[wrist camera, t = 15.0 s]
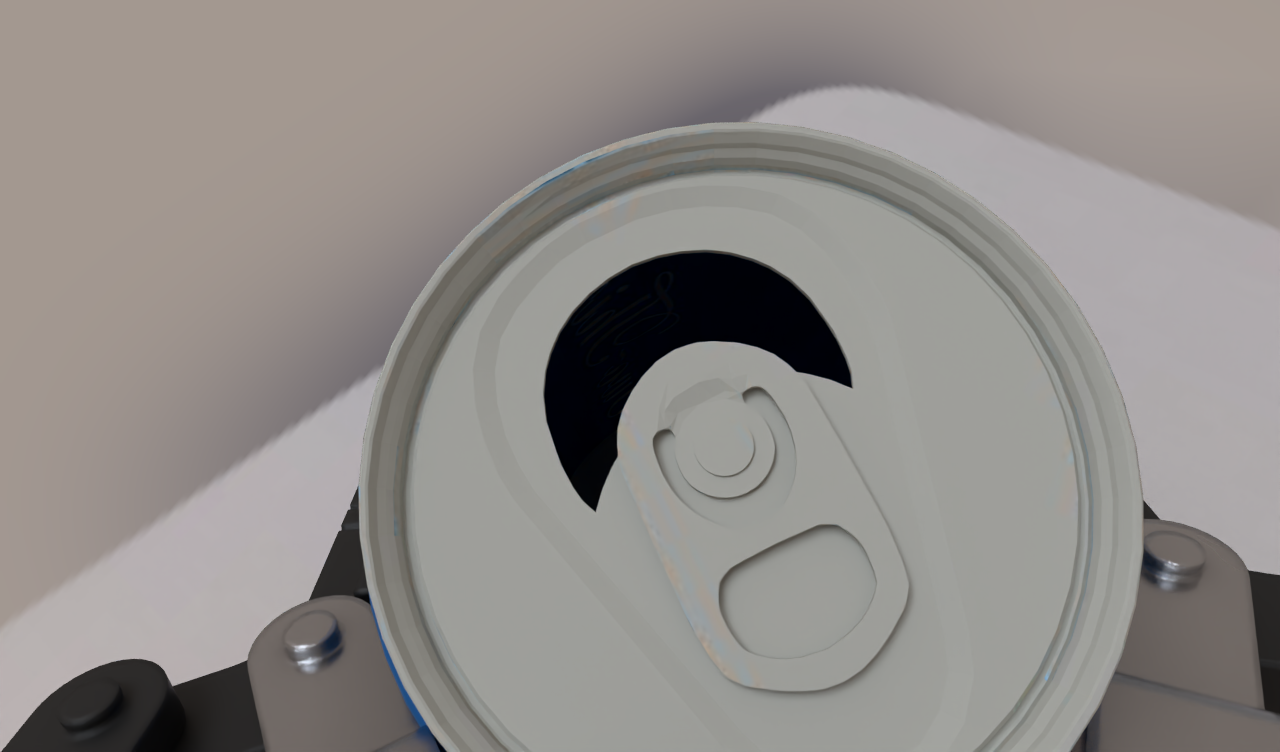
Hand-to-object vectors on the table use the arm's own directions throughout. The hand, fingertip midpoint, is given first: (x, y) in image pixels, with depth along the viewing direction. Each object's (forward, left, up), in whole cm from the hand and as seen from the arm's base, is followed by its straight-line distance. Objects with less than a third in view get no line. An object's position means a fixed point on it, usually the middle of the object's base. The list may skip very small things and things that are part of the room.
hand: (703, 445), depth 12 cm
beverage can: (+1, -1, -6) cm, 6 cm away
